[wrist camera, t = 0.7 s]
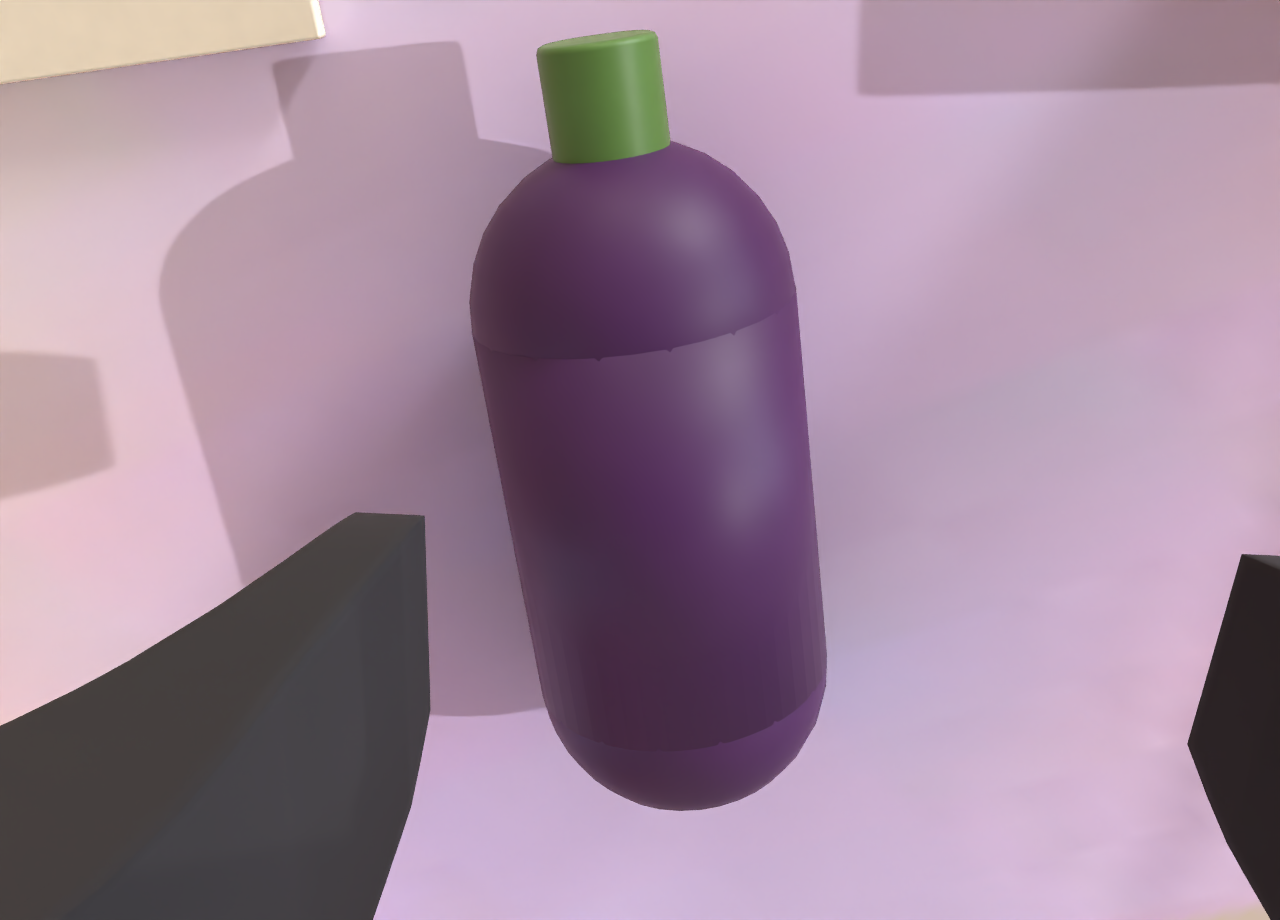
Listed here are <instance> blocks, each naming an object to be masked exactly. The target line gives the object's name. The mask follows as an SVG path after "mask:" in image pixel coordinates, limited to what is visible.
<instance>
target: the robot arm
mask: <svg viewBox="0 0 1280 920" xmlns="http://www.w3.org/2000/svg"><path fill="white" fill-rule="evenodd" d="M429 714H430V679H429V646H428V613H427V580H426V547H425V516H420V515H399V514H378V513H356V512H355V513H354V514H352V515H350V516H348V517H347V518H345V519H343V520H342V521H340V522H339V523H337V524H336V525H334V526H333V527H331V528H330V529H328V530H327V531H325V532H324V533H322V534H321V535H320V536H318V537H317V538H315V539H314V540H312V541H311V542H310V543H308V544H307V545H305V546H304V547H303V548H301V549H300V550H298V551H297V552H296V553H294V554H293V555H291V556H290V557H289V558H287V559H286V560H284V561H283V562H281V563H280V564H279V565H277V566H276V567H274V568H273V569H271V570H270V571H268V572H267V573H265V574H264V575H263V576H261V577H260V578H258V579H257V580H255V581H254V582H252V583H251V584H249V585H248V586H247V587H245V588H244V589H242V590H241V591H239V592H238V593H236V594H235V595H233V596H232V597H231V598H229V599H228V600H226V601H225V602H223V603H222V604H220V605H219V606H217V607H216V608H214V609H212V610H211V611H209V612H207V613H206V614H204V615H203V616H201V617H199V618H198V619H196V620H194V621H193V622H191V623H190V624H188V625H186V626H185V627H183V628H181V629H180V630H178V631H176V632H175V633H173V634H172V635H170V636H168V637H167V638H165V639H163V640H162V641H160V642H159V643H157V644H155V645H154V646H152V647H150V648H149V649H147V650H145V651H144V652H142V653H141V654H139V655H137V656H136V657H134V658H132V659H131V660H129V661H127V662H126V663H124V664H122V665H120V666H118V667H117V668H115V669H113V670H111V671H109V672H108V673H106V674H104V675H102V676H100V677H98V678H96V679H95V680H93V681H91V682H89V683H87V684H85V685H83V686H81V687H79V688H78V689H76V690H74V691H72V692H70V693H68V694H66V695H64V696H62V697H59V698H57V699H55V700H53V701H51V702H49V703H47V704H45V705H43V706H41V707H39V708H37V709H35V710H33V711H31V712H29V713H27V714H25V715H23V716H20V717H18V718H16V719H14V720H12V721H10V722H8V723H6V724H3V725H1V726H0V920H373V918H374V915H375V912H376V909H377V906H378V903H379V900H380V897H381V895H382V892H383V889H384V886H385V883H386V880H387V877H388V874H389V871H390V868H391V865H392V862H393V859H394V856H395V853H396V850H397V847H398V844H399V841H400V838H401V835H402V832H403V829H404V826H405V823H406V820H407V817H408V814H409V811H410V808H411V805H412V800H413V795H414V790H415V785H416V781H417V776H418V771H419V766H420V761H421V756H422V751H423V746H424V740H425V735H426V730H427V725H428V719H429ZM1188 747H1189V750H1190V752H1191V755H1192V758H1193V760H1194V763H1195V766H1196V768H1197V771H1198V774H1199V776H1200V779H1201V781H1202V784H1203V787H1204V789H1205V792H1206V795H1207V797H1208V800H1209V802H1210V805H1211V807H1212V809H1213V812H1214V814H1215V816H1216V819H1217V821H1218V823H1219V826H1220V828H1221V830H1222V833H1223V835H1224V837H1225V840H1226V842H1227V844H1228V846H1229V848H1230V849H1231V851H1232V853H1233V855H1234V857H1235V858H1236V860H1237V862H1238V864H1239V866H1240V867H1241V869H1242V871H1243V873H1244V874H1245V876H1246V878H1247V880H1248V881H1249V883H1250V885H1251V887H1252V888H1253V890H1254V892H1255V893H1256V895H1257V897H1258V899H1259V900H1260V902H1261V904H1262V906H1263V907H1264V909H1265V911H1266V913H1267V914H1268V916H1269V918H1270V919H1271V920H1280V556H1271V555H1250V554H1242V555H1241V559H1240V562H1239V566H1238V569H1237V573H1236V576H1235V580H1234V583H1233V586H1232V590H1231V593H1230V597H1229V600H1228V604H1227V607H1226V611H1225V614H1224V618H1223V621H1222V625H1221V628H1220V632H1219V635H1218V639H1217V642H1216V646H1215V649H1214V653H1213V656H1212V660H1211V663H1210V667H1209V670H1208V674H1207V677H1206V681H1205V684H1204V688H1203V691H1202V695H1201V698H1200V702H1199V705H1198V709H1197V712H1196V716H1195V719H1194V723H1193V726H1192V730H1191V733H1190V737H1189V740H1188Z"/></svg>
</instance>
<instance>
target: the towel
mask: <svg viewBox="0 0 1280 920" xmlns="http://www.w3.org/2000/svg"><path fill="white" fill-rule="evenodd" d="M325 34H326V33H325V28H324V24H323V19H322V15H321V10H320V6H319V1H318V0H0V84H7V83H14V82H21V81H28V80H35V79H42V78H49V77H56V76H63V75H70V74H77V73H84V72H91V71H98V70H105V69H112V68H119V67H126V66H133V65H140V64H147V63H154V62H161V61H168V60H175V59H182V58H189V57H196V56H203V55H210V54H217V53H224V52H231V51H238V50H245V49H252V48H259V47H266V46H273V45H280V44H287V43H294V42H301V41H308V40H315V39H320V38H323V37H325Z"/></svg>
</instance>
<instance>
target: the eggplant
mask: <svg viewBox="0 0 1280 920" xmlns="http://www.w3.org/2000/svg"><path fill="white" fill-rule="evenodd" d="M536 56H537V62H538V68H539V75H540V81H541V87H542V94H543V100H544V106H545V113H546V119H547V125H548V132H549V138H550V144H551V151H552V157H553V158H551V159H549V160H548V161H546V162H545V163H544V164H542V165H541V166H540V167H538V168H537V169H535V170H534V171H533V172H531V173H530V174H529V175H527V176H526V177H525V178H524V179H523V180H522V181H521V182H520V183H519V184H518V185H517V186H516V187H515V189H514V190H513V191H512V192H511V193H510V194H509V195H508V196H507V198H506V199H505V200H504V201H503V202H502V203H501V204H500V206H499V207H498V209H497V211H496V212H495V214H494V216H493V218H492V219H491V221H490V223H489V225H488V226H487V228H486V230H485V232H484V233H483V236H482V239H481V242H480V246H479V249H478V252H477V255H476V258H475V261H474V265H473V274H472V282H471V291H470V302H469V303H470V314H471V325H472V335H473V340H474V345H475V350H476V355H477V360H478V366H479V371H480V376H481V381H482V386H483V391H484V396H485V401H486V407H487V412H488V417H489V422H490V427H491V432H492V437H493V443H494V448H495V453H496V458H497V463H498V468H499V473H500V479H501V484H502V489H503V494H504V499H505V504H506V509H507V514H508V520H509V525H510V530H511V535H512V540H513V545H514V550H515V556H516V561H517V566H518V571H519V576H520V581H521V586H522V591H523V597H524V602H525V607H526V612H527V617H528V622H529V627H530V633H531V638H532V643H533V648H534V653H535V658H536V663H537V669H538V674H539V679H540V684H541V689H542V694H543V698H544V701H545V704H546V707H547V710H548V714H549V717H550V719H551V722H552V724H553V726H554V728H555V731H556V733H557V735H558V736H559V738H560V739H561V741H562V743H563V744H564V746H565V748H566V749H567V751H568V752H569V754H570V755H571V756H572V757H573V758H574V759H575V760H576V762H577V763H578V764H579V765H580V766H581V767H582V768H583V769H584V770H585V771H586V772H587V773H588V774H589V775H590V776H591V777H592V778H593V779H595V780H596V781H597V782H599V783H600V784H602V785H603V786H605V787H606V788H607V789H609V790H611V791H613V792H614V793H616V794H618V795H620V796H622V797H624V798H626V799H629V800H631V801H634V802H636V803H638V804H641V805H644V806H649V807H653V808H657V809H664V810H676V811H685V810H702V809H707V808H713V807H718V806H722V805H725V804H728V803H731V802H734V801H738V800H740V799H742V798H744V797H746V796H748V795H751V794H753V793H755V792H757V791H758V790H759V789H761V788H762V787H764V786H765V785H767V784H768V783H769V782H771V781H772V780H773V779H774V778H775V777H776V776H777V775H778V774H780V773H781V772H782V771H783V770H784V769H785V768H786V767H787V766H788V765H789V764H790V763H791V762H792V761H793V760H794V758H795V757H796V756H797V754H798V753H799V751H800V749H801V748H802V746H803V744H804V743H805V741H806V739H807V738H808V736H809V734H810V732H811V731H812V729H813V727H814V726H815V724H816V721H817V717H818V714H819V710H820V706H821V703H822V699H823V695H824V691H825V687H826V668H827V652H826V640H825V628H824V616H823V604H822V592H821V581H820V569H819V557H818V545H817V533H816V521H815V509H814V497H813V485H812V473H811V461H810V450H809V438H808V426H807V414H806V402H805V390H804V378H803V366H802V354H801V342H800V331H799V319H798V307H797V295H796V287H795V282H794V277H793V272H792V267H791V261H790V256H789V251H788V249H787V247H786V244H785V242H784V239H783V237H782V234H781V232H780V230H779V227H778V225H777V222H776V221H775V220H774V218H773V217H772V215H771V214H770V212H769V211H768V209H767V208H766V206H765V205H764V203H763V202H762V200H761V199H760V197H759V196H758V195H757V194H756V193H755V192H754V191H753V190H752V189H751V188H750V187H749V186H748V185H747V184H746V183H745V182H744V181H743V180H742V179H741V178H740V177H739V176H737V175H736V174H735V173H734V172H733V171H732V170H731V169H729V168H727V167H726V166H724V165H723V164H721V163H720V162H718V161H716V160H715V159H713V158H712V157H710V156H709V155H707V154H705V153H703V152H700V151H698V150H695V149H692V148H690V147H687V146H684V145H681V144H679V143H676V142H673V141H670V135H669V127H668V118H667V110H666V102H665V93H664V85H663V77H662V68H661V60H660V52H659V43H658V37H657V35H656V33H655V32H653V31H650V30H632V31H622V32H613V33H605V34H597V35H591V36H584V37H578V38H572V39H567V40H561V41H557V42H552V43H548V44H545V45H543V46H541V47H540V48H538V50H537V54H536Z"/></svg>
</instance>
